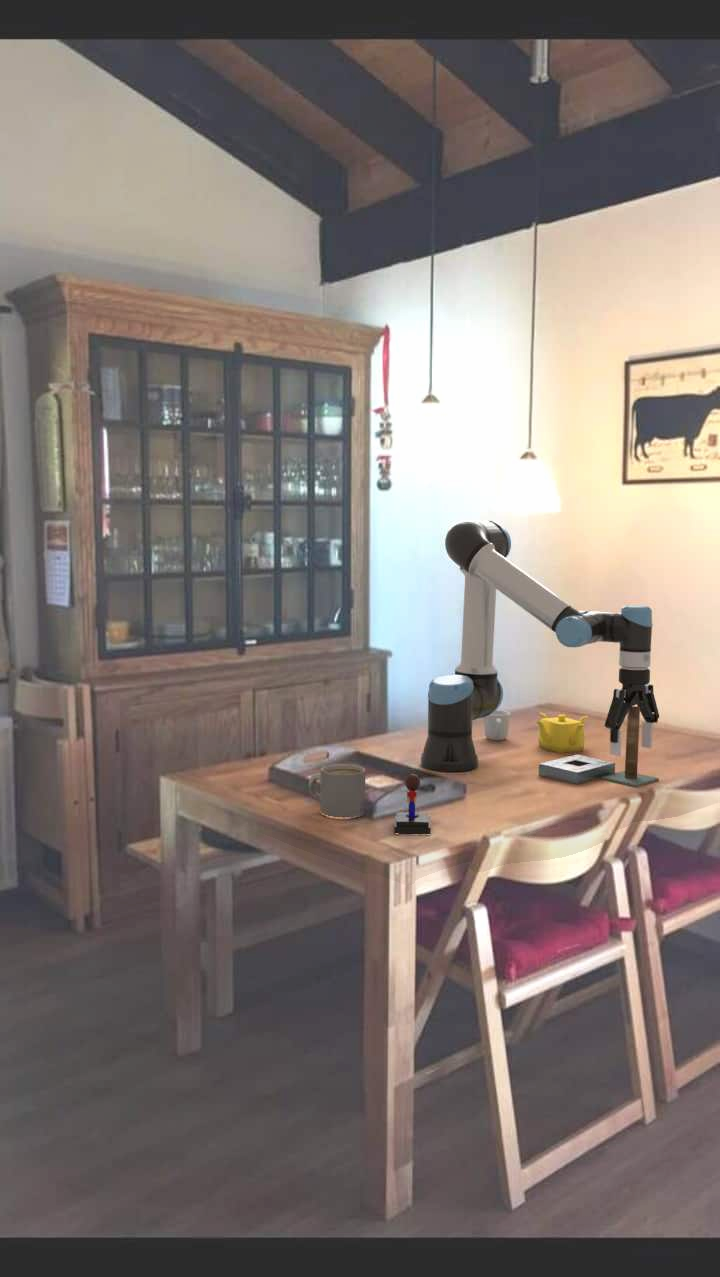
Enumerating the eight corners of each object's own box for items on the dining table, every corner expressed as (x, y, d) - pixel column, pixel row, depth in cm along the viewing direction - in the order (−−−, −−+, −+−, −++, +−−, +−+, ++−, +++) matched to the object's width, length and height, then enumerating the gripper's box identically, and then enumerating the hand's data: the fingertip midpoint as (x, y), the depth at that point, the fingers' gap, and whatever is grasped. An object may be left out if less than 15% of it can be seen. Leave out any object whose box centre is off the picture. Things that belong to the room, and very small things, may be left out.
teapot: (539, 741, 307) (539, 709, 306) (587, 744, 303) (588, 712, 302) (532, 752, 293) (533, 718, 292) (583, 755, 289) (584, 721, 288)
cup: (512, 744, 303) (513, 717, 302) (485, 743, 303) (485, 716, 302) (508, 736, 314) (508, 710, 313) (481, 735, 314) (482, 709, 313)
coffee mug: (374, 812, 232) (374, 768, 231) (345, 822, 224) (345, 777, 223) (328, 801, 240) (329, 759, 239) (299, 810, 233) (299, 767, 232)
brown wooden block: (632, 779, 260) (635, 708, 258) (622, 777, 262) (625, 707, 260) (639, 777, 262) (642, 707, 260) (629, 775, 264) (632, 705, 262)
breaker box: (576, 784, 258) (577, 772, 257) (538, 775, 267) (539, 763, 266) (614, 774, 268) (615, 762, 268) (576, 765, 277) (577, 754, 277)
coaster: (636, 787, 255) (636, 784, 255) (601, 779, 263) (602, 776, 263) (658, 780, 262) (658, 778, 262) (624, 772, 269) (625, 770, 269)
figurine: (429, 823, 224) (430, 769, 223) (430, 835, 216) (431, 778, 214) (394, 822, 224) (395, 768, 223) (394, 834, 216) (395, 778, 215)
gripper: (618, 674, 248) (614, 761, 250) (675, 664, 264) (671, 746, 267) (592, 670, 254) (589, 755, 256) (649, 661, 270) (646, 741, 272)
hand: (631, 751), depth 261 cm, fingers open, 13 cm apart
